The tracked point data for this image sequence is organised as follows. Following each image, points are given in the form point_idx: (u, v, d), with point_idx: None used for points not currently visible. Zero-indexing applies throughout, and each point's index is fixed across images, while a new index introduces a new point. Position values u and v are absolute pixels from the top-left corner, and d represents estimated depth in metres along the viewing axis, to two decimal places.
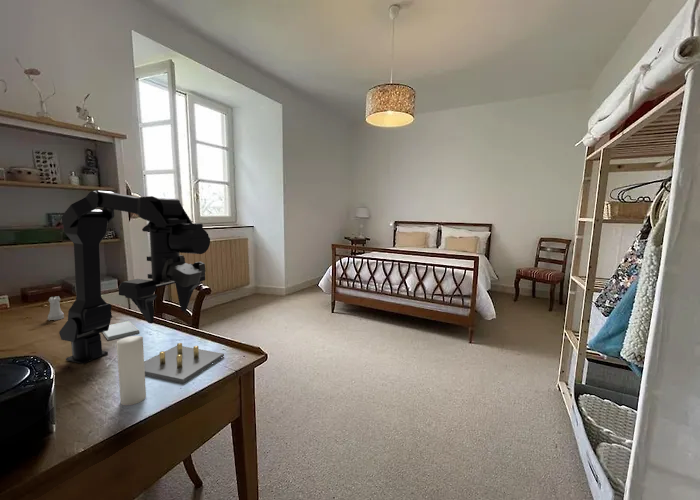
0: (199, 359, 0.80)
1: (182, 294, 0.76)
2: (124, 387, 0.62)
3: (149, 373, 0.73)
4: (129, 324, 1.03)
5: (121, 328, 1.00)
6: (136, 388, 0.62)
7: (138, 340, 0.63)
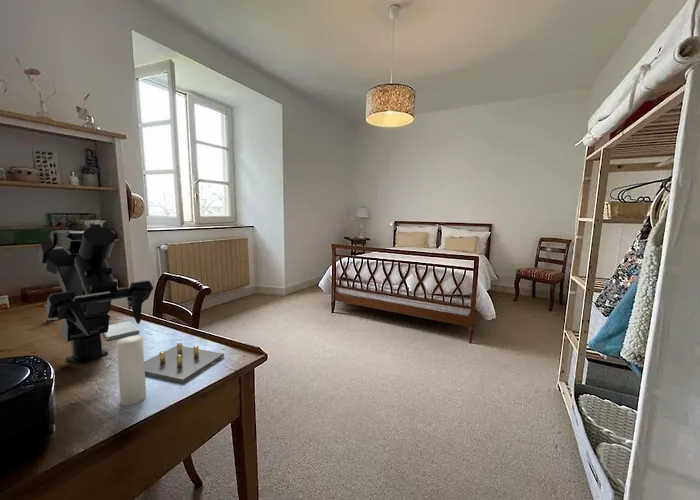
0: (199, 359, 0.80)
1: None
2: (124, 387, 0.62)
3: (149, 373, 0.73)
4: (129, 324, 1.03)
5: (121, 328, 0.99)
6: (136, 388, 0.62)
7: (138, 340, 0.63)
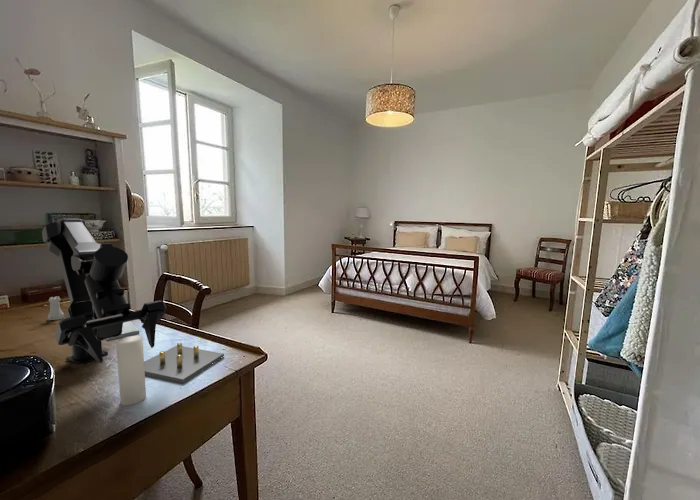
0: (199, 359, 0.80)
1: None
2: (124, 387, 0.62)
3: (149, 373, 0.73)
4: (130, 324, 1.03)
5: None
6: (135, 388, 0.62)
7: (138, 340, 0.63)
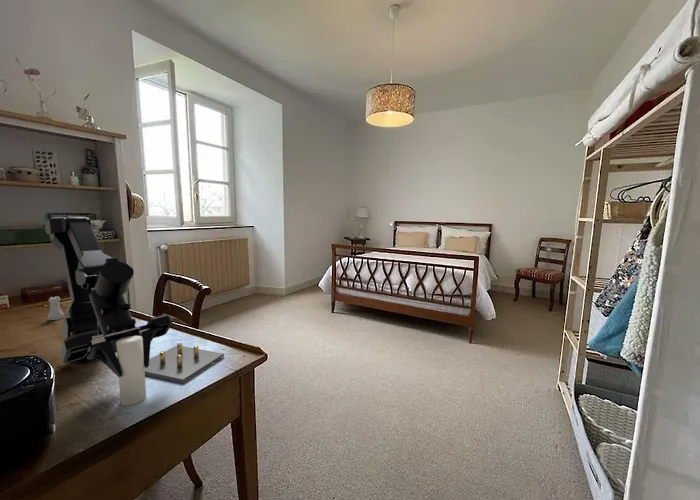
0: (199, 359, 0.80)
1: None
2: (124, 387, 0.62)
3: (149, 373, 0.73)
4: None
5: None
6: (136, 388, 0.62)
7: (138, 339, 0.63)
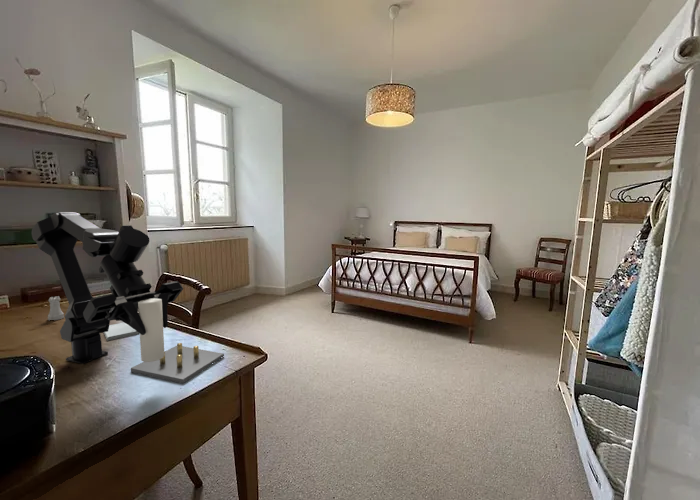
0: (199, 359, 0.80)
1: None
2: (147, 344, 0.66)
3: (149, 373, 0.73)
4: None
5: (122, 328, 0.99)
6: (157, 345, 0.67)
7: (158, 300, 0.67)
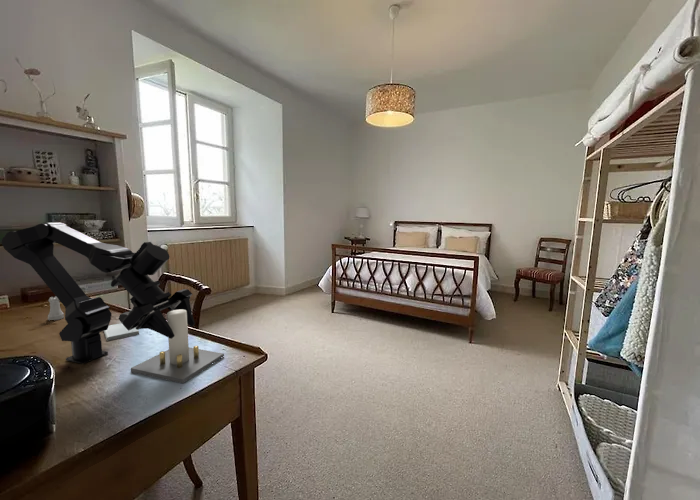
0: (199, 359, 0.80)
1: None
2: (179, 349, 0.77)
3: (149, 373, 0.73)
4: None
5: (122, 328, 0.99)
6: (186, 348, 0.78)
7: (184, 311, 0.78)
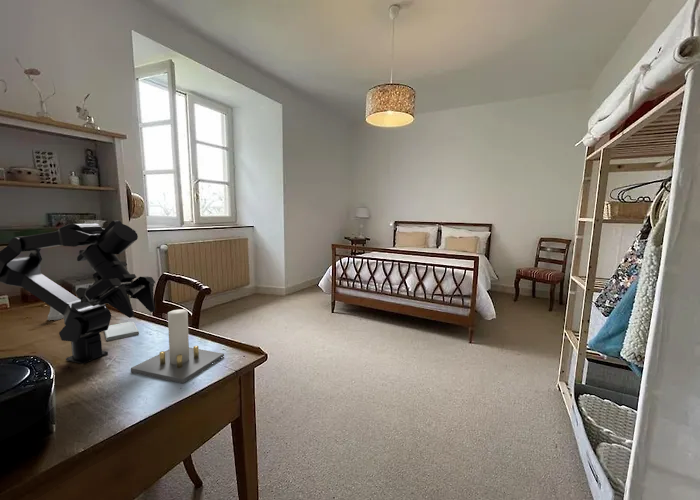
0: (199, 359, 0.80)
1: None
2: (179, 348, 0.77)
3: (149, 373, 0.73)
4: (131, 325, 1.03)
5: (122, 329, 0.99)
6: (186, 348, 0.79)
7: (185, 311, 0.79)
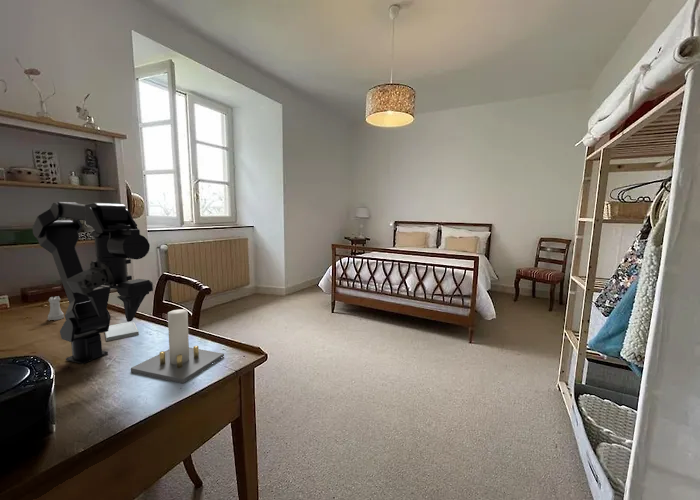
0: (199, 359, 0.80)
1: None
2: (179, 348, 0.77)
3: (149, 373, 0.73)
4: (132, 325, 1.03)
5: (122, 329, 0.99)
6: (186, 348, 0.79)
7: (185, 311, 0.79)
